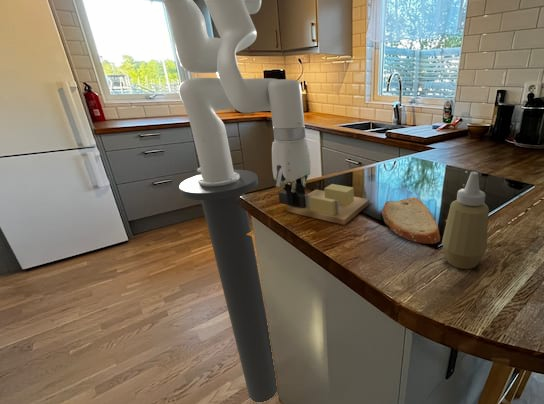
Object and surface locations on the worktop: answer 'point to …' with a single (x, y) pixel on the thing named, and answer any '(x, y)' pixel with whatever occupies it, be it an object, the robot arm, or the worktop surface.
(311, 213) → the cutting board
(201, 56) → the robot arm
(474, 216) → the squeeze bottle
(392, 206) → the slice of bread
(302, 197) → the knife
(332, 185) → the butter block
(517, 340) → the worktop surface
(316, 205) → the butter slice
